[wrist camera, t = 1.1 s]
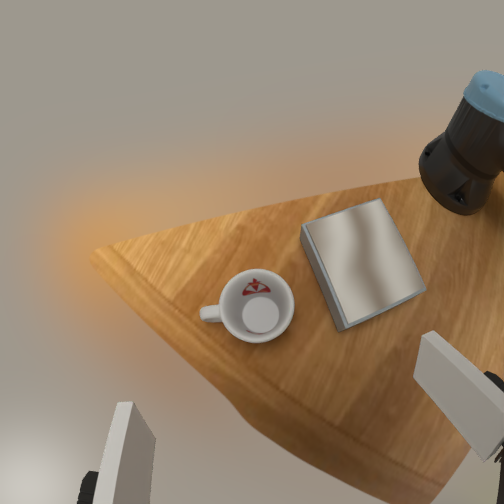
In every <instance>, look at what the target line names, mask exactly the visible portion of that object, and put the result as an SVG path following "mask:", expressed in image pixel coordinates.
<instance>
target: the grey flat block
mask: <svg viewBox="0 0 504 504" xmlns="http://www.w3.org/2000/svg"><path fill="white" fill-rule="evenodd" d="M300 241H301V243H302V245H303V248H304V250H305V252H306V255H307V257H308V259H309V262H310V264H311V266H312V269H313V271H314V273H315V276H316V278H317V281H318V283H319V285H320V288H321V290H322V293H323V295H324V298H325V300H326V303H327V305H328V308H329V310H330V313H331V315H332V318H333V320H334V323H335V325H336V328H337V330H338V332H341V331H343V330H345V329H348V328H350V327H352V326H355V325H357V324H359V323H361V322H363V321H366V320H368V319H370V318H372V317H374V316H377V315H379V314H381V313H383V312H385V311H387V310H389V309H391V308H393V307H395V306H397V305H399V304H401V303H403V302H405V301H407V300H409V299H411V298H413V297H415V296H417V295H418V294H420V293H422V292H424V291H425V290H426V287H425V285H424V283H423V280H422V278H421V276H420V274H419V272H418V269H417V267H416V265H415V263H414V261H413V259H412V257H411V255H410V253H409V251H408V249H407V247H406V245H405V243H404V241H403V239H402V237H401V235H400V233H399V231H398V229H397V227H396V225H395V224H394V222H393V220H392V218H391V216H390V214H389V213H388V211H387V209H386V207H385V206H384V204H383V202H382V200H381V199H380V198H378V199H375V200H372V201H369V202H366V203H363V204H360V205H357V206H354V207H351V208H348V209H345V210H342V211H339V212H336V213H333V214H330V215H327V216H325V217H322V218H319V219H316V220H313V221H310V222H307V223H304V224H302V225H301V233H300Z"/></svg>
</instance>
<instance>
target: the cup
mask: <svg viewBox="0 0 504 504" xmlns="http://www.w3.org/2000/svg"><path fill="white" fill-rule="evenodd" d="M293 313H294V297H293V294H292V291H291V289H290V287H289V286H288V284H287V283H286V282H285V280H283V279H282V278H281V277H280V276H279V275H277V274H275V273H273V272H271V271H268V270H264V269H251V270H246V271H243V272H241V273H239V274H237V275H236V276H234V277H233V278H232V279H231V280H230V281H229V282H228V283H227V284H226V286H225V287H224V289H223V291H222V293H221V296H220V301H219V304H218V305H210V306H205V307H203V308H201V310H200V318H201V320H203V321H206V322H223V324H224V326H225V327H226V328H227V330H228V331H229V332H230V333H231V334H232V335H234V336H235V337H237V338H239V339H240V340H243V341H246V342H251V343H262V342H267V341H270V340H272V339H274V338H276V337H278V336H279V335H280V334H281V333H283V332H284V331H285V329H286V328H287V327H288V325H289V324H290V322H291V320H292V317H293Z"/></svg>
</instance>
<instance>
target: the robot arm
mask: <svg viewBox="0 0 504 504" xmlns="http://www.w3.org/2000/svg"><path fill="white" fill-rule="evenodd" d="M463 94H464V96H463V98H462V100H461V102H460V104H459V106H458V108H457V110H456V112H455V114H454V115H453V117H452V119H451V121H450V123H449V125H448V127H447V129H446V130H445V132H443V133H442V134H441V135H439V136H438V137H437V138H435V139H434V140H433V141H431V142H430V143H429V144H428V145H427V146H426V147H425V148H424V150H423V152H422V154H421V156H420V159H419V171H420V175H421V178H422V180H423V182H424V184H425V186H426V188H427V189H428V191H429V192H430V193H431V194H432V196H433V197H434V198H435V199H436V200H437V201H438V202H439V203H440V204H442V205H443V206H444V207H446V208H447V209H449V210H451V211H453V212H455V213H458V214H462V215H471V214H474V213H476V212H477V211H478V210H479V209H480V208H482V207H483V206H484V204H485V203H486V201H487V199H488V197H489V194H490V192H491V189H492V186H493V183H494V180H495V178H496V177H497V176H498V175H499V173H500V172H501V171H503V172H504V75H502V74H499V73H496V72H493V71H487V70H482V71H479V72H477V73H476V74H475V75H474V76H473V78H472V80H471V81H470V83H469V85H468V86H467V87H466V88H465V90H464V93H463ZM413 378H414V379H415V380H416V381H417V382H418V384H419V385H420V386H421V387H422V388H423V389H424V391H425V392H426V393H427V394H428V395H429V396H430V398H431V399H432V400H433V401H434V402H435V403H436V405H437V406H438V407H439V408H440V409H441V411H442V412H443V413H444V414H445V415H446V417H447V418H448V419H449V420H450V421H451V423H452V424H453V425H454V426H455V427H456V429H457V430H458V431H459V432H460V434H461V435H462V436H463V437H464V438H465V440H466V441H467V442H468V443H469V445H470V446H471V447H472V448H473V449H474V451H475V452H476V453H477V455H478V456H479V457H480V458H481V460H482V461H483V462H485V461H486V460H487V459H488V458H490V457H491V456H492V455H493V454H495V453H496V451H497V450H498V449H499V447H500V446H501V445H502V446H503V449H502V450H501V452H500V453H499V454H498V455H497V457H496V458H495V461H494V462H495V463H496V462H497V461H498V459H499V458H500V457H501V459H500V461H499V462H501V471H500V481H499V490H498V497H497V504H504V382H503V380H502V379H500V378H499V377H498V376H497V375H496V374H493V373H491V372H489V371H486V372H485V373H482V372H481V371H480V370H479V369H478V368H476V367H475V366H474V365H473V364H472V363H471V362H470V361H469V360H468V359H466V358H465V357H464V356H463V355H462V354H461V353H460V352H458V351H457V350H456V349H455V348H454V347H453V346H451V345H450V344H449V343H448V342H447V341H446V340H445V339H443V338H442V337H441V336H440V335H439V334H437V333H436V332H435V331H434V330H433V331H431V332H428V333H426V334H424V335H422V337H421V343H420V348H419V353H418V357H417V362H416V366H415V371H414V375H413ZM155 442H156V438H155V436H154V435H153V433H152V432H151V430H150V429H149V427H148V425H147V424H146V422H145V420H144V419H143V417H142V416H141V414H140V412H139V410H138V409H137V407H136V405H135V404H134V402H118V403H117V407H116V410H115V413H114V417H113V420H112V424H111V428H110V431H109V435H108V439H107V443H106V447H105V450H104V454H103V459H102V462H101V467H100V471H99V472H94V471H89V472H88V473H87V474H86V476H85V477H84V479H83V480H82V484H81V488H80V493H79V496H78V501H77V504H150V492H151V480H152V470H153V460H154V451H155Z"/></svg>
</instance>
